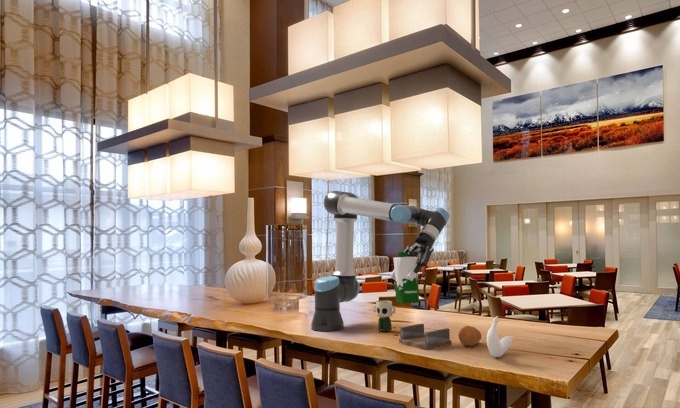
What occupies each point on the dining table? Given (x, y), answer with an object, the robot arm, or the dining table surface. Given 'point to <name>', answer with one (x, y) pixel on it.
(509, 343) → the white bird figurine
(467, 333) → the potato
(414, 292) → the soya milk
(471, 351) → the dining table surface
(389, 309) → the white and green figurine
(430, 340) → the grey square holder
